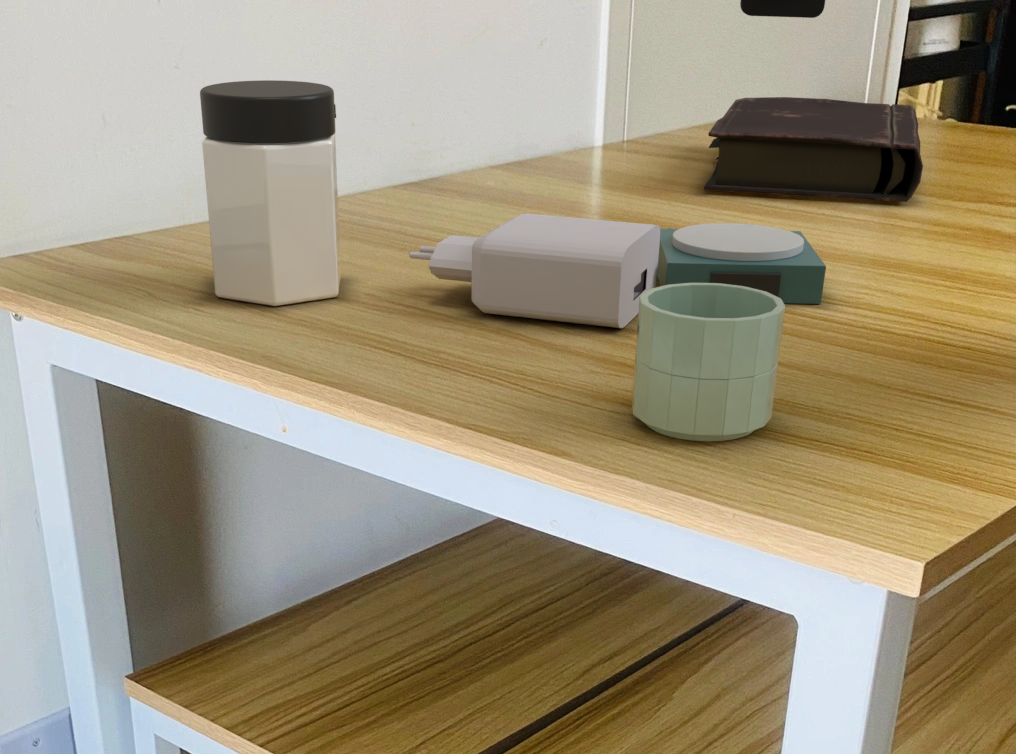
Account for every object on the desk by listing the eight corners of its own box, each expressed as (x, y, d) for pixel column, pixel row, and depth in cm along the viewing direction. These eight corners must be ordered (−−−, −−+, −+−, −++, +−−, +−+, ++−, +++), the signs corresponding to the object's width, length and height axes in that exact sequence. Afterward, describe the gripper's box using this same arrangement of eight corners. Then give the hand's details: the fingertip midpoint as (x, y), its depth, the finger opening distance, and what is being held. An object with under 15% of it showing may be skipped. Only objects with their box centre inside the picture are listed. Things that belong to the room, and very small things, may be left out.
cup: (758, 401, 71) (773, 284, 68) (778, 447, 65) (794, 321, 62) (627, 398, 71) (636, 281, 68) (635, 444, 66) (645, 318, 62)
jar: (371, 283, 91) (365, 86, 85) (303, 312, 85) (291, 101, 78) (259, 267, 94) (245, 76, 88) (186, 294, 88) (166, 90, 82)
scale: (796, 266, 96) (801, 222, 95) (821, 305, 87) (828, 257, 86) (653, 263, 96) (656, 219, 95) (664, 302, 88) (668, 254, 86)
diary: (912, 157, 135) (921, 101, 132) (916, 206, 114) (927, 141, 112) (722, 147, 139) (727, 93, 136) (693, 193, 118) (698, 130, 116)
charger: (441, 274, 93) (656, 296, 89) (387, 308, 86) (618, 334, 81) (441, 201, 91) (662, 220, 86) (385, 229, 83) (623, 251, 79)
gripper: (1003, -603, 42) (898, 27, 50) (879, -474, 56) (815, -4, 65) (756, -609, 42) (694, 21, 51) (696, -479, 56) (657, -9, 65)
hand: (762, 6), depth 58 cm, fingers open, 9 cm apart
